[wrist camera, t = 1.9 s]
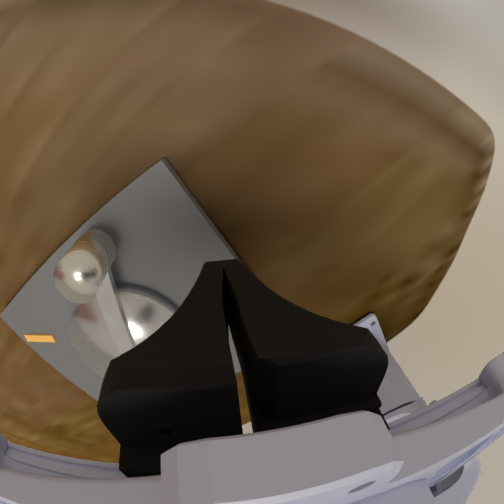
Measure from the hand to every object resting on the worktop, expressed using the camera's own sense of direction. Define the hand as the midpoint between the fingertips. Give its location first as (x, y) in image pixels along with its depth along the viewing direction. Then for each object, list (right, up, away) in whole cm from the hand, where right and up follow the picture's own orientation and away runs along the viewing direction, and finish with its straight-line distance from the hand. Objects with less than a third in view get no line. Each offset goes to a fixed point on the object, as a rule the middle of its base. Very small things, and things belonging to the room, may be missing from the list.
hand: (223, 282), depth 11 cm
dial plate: (-8, -4, +9) cm, 12 cm away
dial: (-8, -3, +7) cm, 10 cm away
